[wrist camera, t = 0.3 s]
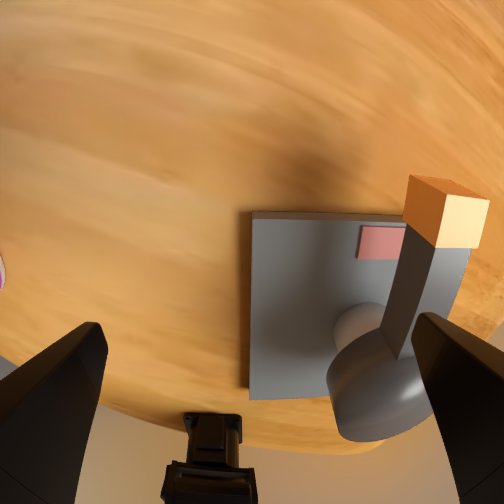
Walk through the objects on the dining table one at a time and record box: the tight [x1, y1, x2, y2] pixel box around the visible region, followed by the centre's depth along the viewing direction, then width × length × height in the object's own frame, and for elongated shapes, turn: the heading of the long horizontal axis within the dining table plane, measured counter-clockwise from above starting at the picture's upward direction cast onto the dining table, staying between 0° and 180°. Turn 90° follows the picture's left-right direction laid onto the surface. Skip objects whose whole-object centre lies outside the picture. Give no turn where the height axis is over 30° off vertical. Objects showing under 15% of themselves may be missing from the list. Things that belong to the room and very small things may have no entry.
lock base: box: [249, 211, 471, 400], centre depth 22 cm, size 18×18×6 cm
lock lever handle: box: [326, 175, 490, 442], centre depth 16 cm, size 17×8×4 cm, turn 179°
